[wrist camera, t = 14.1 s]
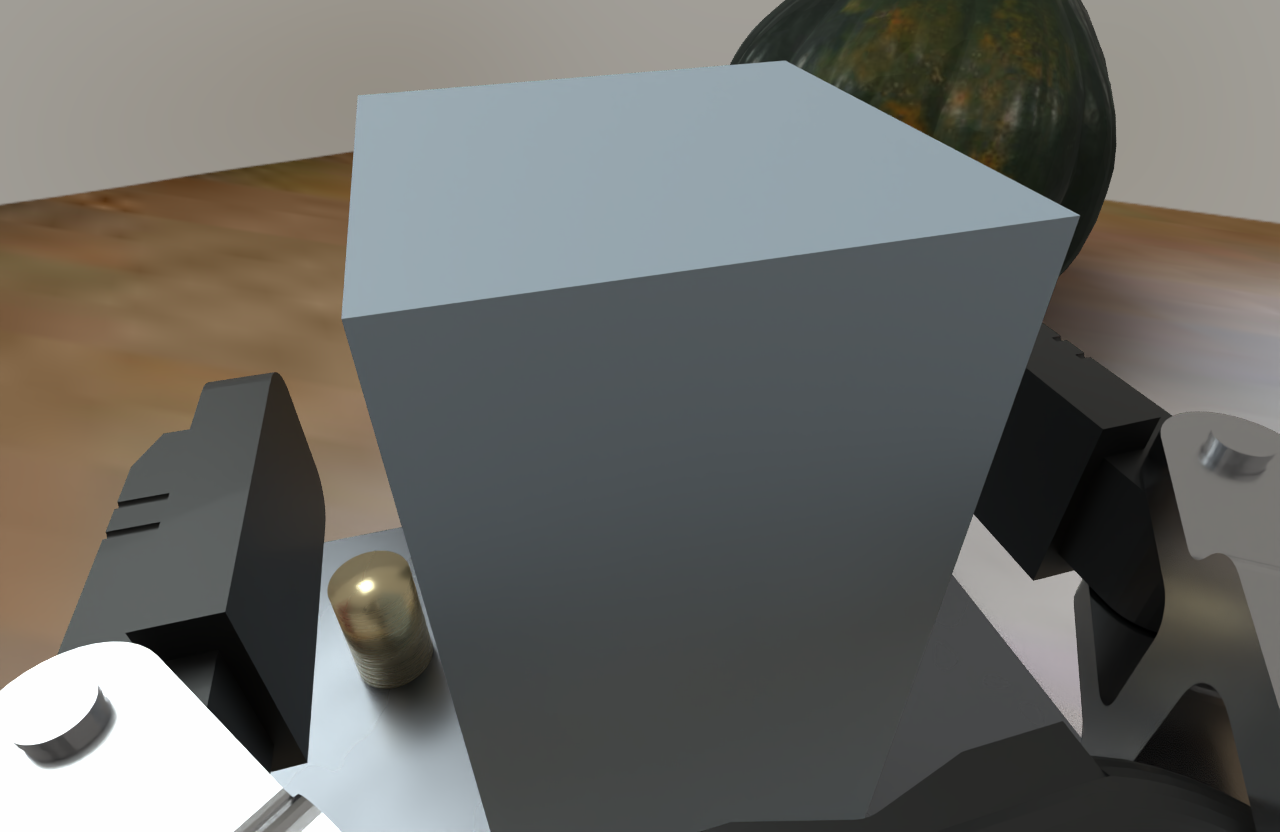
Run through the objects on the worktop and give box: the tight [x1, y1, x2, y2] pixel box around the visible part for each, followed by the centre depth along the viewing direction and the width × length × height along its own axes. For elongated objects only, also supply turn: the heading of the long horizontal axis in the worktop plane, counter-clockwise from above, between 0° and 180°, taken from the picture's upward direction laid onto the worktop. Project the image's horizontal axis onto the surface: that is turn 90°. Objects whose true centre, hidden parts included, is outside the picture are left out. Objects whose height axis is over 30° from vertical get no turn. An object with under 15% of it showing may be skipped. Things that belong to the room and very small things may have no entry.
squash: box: [730, 0, 1116, 277], centre depth 28 cm, size 14×15×15 cm
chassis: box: [270, 527, 1081, 832], centre depth 14 cm, size 17×17×4 cm
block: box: [342, 61, 1080, 832], centre depth 10 cm, size 5×5×12 cm
